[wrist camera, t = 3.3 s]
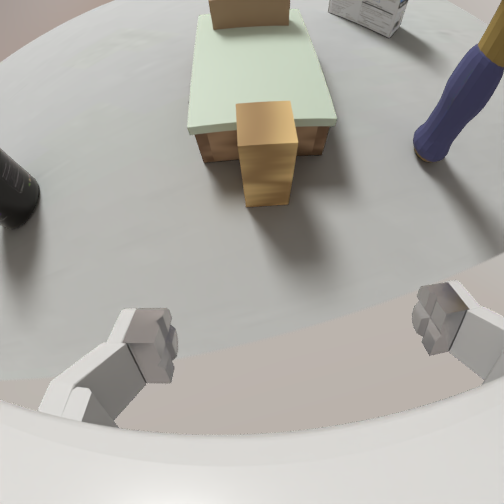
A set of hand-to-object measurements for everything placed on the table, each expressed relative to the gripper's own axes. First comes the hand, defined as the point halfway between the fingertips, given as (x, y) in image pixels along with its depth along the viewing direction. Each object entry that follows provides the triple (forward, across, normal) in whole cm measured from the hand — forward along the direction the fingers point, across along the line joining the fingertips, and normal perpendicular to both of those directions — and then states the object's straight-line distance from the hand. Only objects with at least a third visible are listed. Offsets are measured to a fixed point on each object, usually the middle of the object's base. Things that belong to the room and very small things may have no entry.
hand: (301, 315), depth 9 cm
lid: (+24, 0, -10) cm, 26 cm away
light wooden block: (+19, 0, +2) cm, 19 cm away
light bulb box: (+41, -18, -20) cm, 49 cm away
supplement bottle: (+20, +28, 0) cm, 35 cm away
